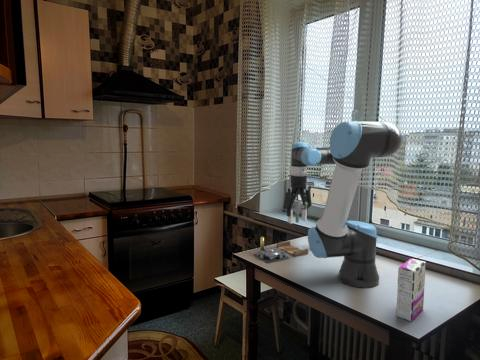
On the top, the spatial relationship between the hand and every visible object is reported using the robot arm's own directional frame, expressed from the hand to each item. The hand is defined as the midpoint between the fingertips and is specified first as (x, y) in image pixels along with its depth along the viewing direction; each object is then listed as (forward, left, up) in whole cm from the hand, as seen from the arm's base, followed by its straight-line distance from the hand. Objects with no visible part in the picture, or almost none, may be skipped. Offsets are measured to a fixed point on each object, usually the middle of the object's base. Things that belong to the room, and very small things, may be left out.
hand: (297, 221), depth 158 cm
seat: (+5, -1, -16) cm, 17 cm away
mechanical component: (0, 0, 0) cm, 0 cm away
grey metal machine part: (+3, +13, -15) cm, 20 cm away
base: (+3, +13, -16) cm, 21 cm away
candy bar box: (-61, +3, -16) cm, 63 cm away
